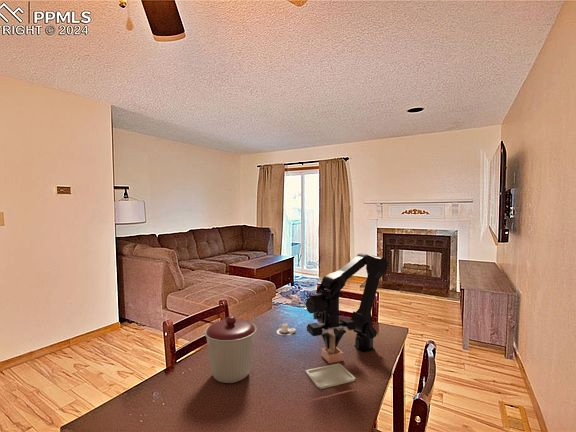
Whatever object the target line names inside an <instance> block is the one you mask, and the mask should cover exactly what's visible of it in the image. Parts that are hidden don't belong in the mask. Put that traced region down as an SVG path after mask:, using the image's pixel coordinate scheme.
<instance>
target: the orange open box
mask: <svg viewBox="0 0 576 432" xmlns="http://www.w3.org/2000/svg"><path fill="white" fill-rule="evenodd" d="M321 357H322V358H323V359H324V360H325V361H326V362H327V363H328V364H335V363H340V362H343V361H344V352H343V351H342V350H341V349H340V348H338V346H337V347H336V348H335V354H329V353H328V352H327V348H326V347H321Z"/></svg>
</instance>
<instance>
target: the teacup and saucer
mask: <svg viewBox="0 0 576 432" xmlns="http://www.w3.org/2000/svg"><path fill="white" fill-rule="evenodd" d="M278 327H279V328H278V329H277V330H276V334H277V335H280V336H291V335H292V334H293V333H295V332H297V329H296V328H295V327H294V328H289V323H286V322H285V323H284V322H283V323H281V324H279V325H278ZM280 331H281V332H282V333H283V334H282V333H280Z"/></svg>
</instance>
